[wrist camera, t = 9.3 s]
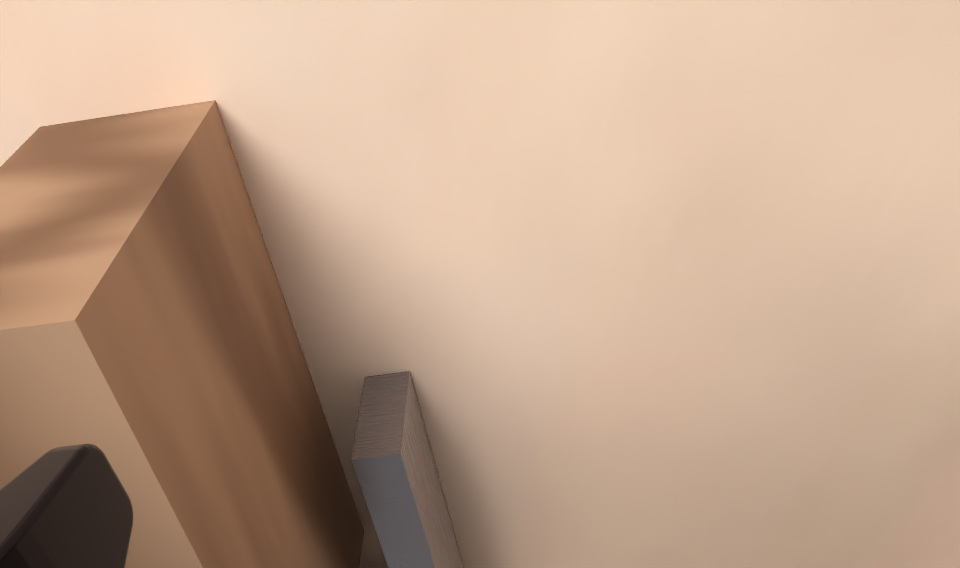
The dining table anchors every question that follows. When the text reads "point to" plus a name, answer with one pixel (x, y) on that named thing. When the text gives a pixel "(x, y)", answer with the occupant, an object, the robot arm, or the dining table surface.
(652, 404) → the dining table surface
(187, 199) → the walnut top rail
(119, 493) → the robot arm
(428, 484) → the bracket
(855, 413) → the dining table surface
